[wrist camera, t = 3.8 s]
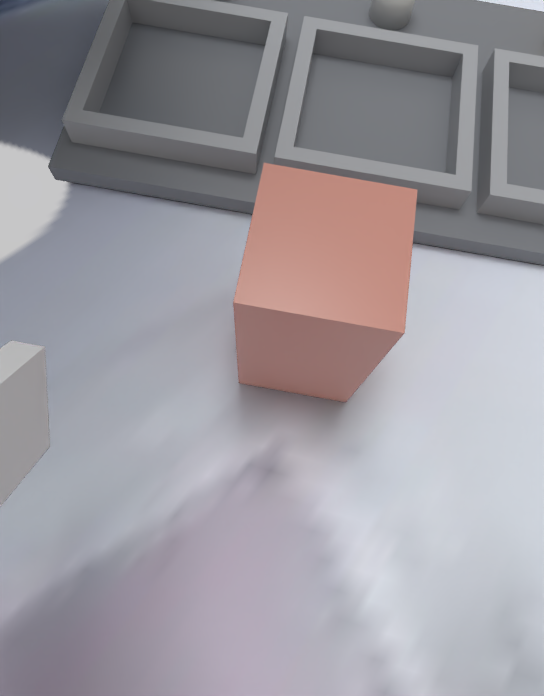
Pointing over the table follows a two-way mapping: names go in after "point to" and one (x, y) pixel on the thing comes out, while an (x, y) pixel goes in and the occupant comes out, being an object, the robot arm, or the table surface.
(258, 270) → the salmon pink square prism
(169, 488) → the table surface
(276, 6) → the grey compartment tray
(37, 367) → the robot arm
